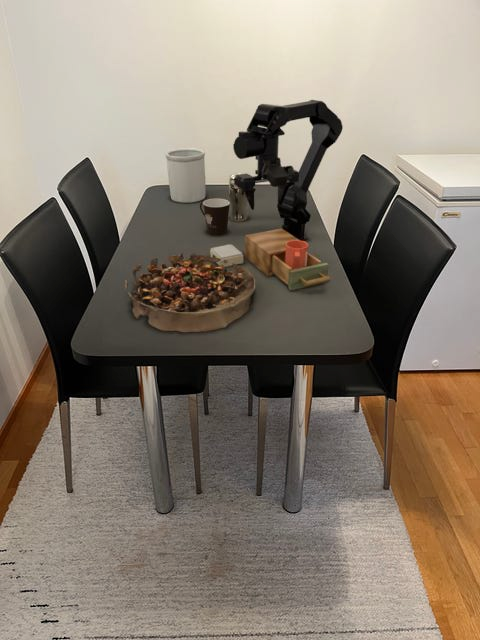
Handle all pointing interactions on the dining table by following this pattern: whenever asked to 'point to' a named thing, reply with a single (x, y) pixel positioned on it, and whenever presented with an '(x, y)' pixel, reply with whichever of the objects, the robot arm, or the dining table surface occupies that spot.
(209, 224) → the coffee mug
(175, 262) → the food dish
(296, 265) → the red mug
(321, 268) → the drawer
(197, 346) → the dining table surface
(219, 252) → the kitchen scale
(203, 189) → the utensil holder
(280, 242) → the cabinet
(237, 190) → the beer glass
